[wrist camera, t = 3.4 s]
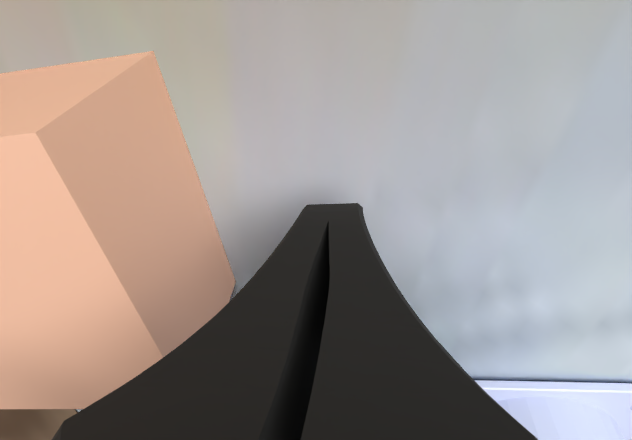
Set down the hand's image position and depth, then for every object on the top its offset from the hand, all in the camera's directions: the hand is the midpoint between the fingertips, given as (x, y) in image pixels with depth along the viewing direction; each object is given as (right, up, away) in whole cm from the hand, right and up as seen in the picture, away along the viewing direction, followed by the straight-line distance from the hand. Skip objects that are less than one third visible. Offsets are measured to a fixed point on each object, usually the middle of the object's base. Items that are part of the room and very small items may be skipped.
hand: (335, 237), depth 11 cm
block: (-7, +1, +3) cm, 8 cm away
